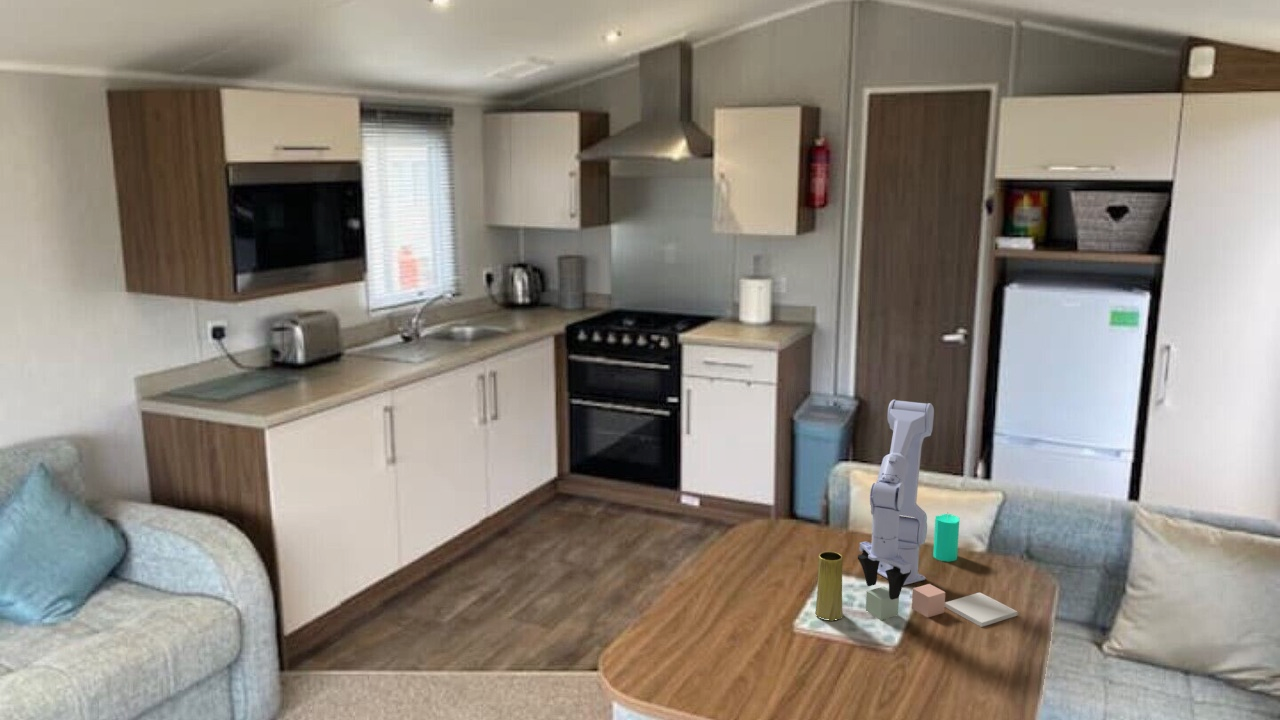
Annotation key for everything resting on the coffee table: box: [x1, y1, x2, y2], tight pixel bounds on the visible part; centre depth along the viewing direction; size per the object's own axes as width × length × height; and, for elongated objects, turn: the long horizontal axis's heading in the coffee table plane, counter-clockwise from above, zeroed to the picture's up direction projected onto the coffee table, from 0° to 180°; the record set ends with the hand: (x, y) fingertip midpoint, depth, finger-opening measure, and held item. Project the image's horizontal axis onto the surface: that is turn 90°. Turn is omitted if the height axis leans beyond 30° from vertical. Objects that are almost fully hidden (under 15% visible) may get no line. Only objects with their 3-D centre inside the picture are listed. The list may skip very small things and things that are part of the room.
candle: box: [932, 512, 960, 562], centre depth 245 cm, size 6×6×12 cm
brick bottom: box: [865, 586, 900, 621], centre depth 216 cm, size 5×5×5 cm
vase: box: [814, 550, 844, 620], centre depth 215 cm, size 6×6×14 cm
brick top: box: [911, 583, 946, 618], centre depth 217 cm, size 5×5×5 cm
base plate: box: [945, 592, 1018, 628], centre depth 217 cm, size 11×11×1 cm
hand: (882, 591), depth 216 cm, fingers open, 7 cm apart
